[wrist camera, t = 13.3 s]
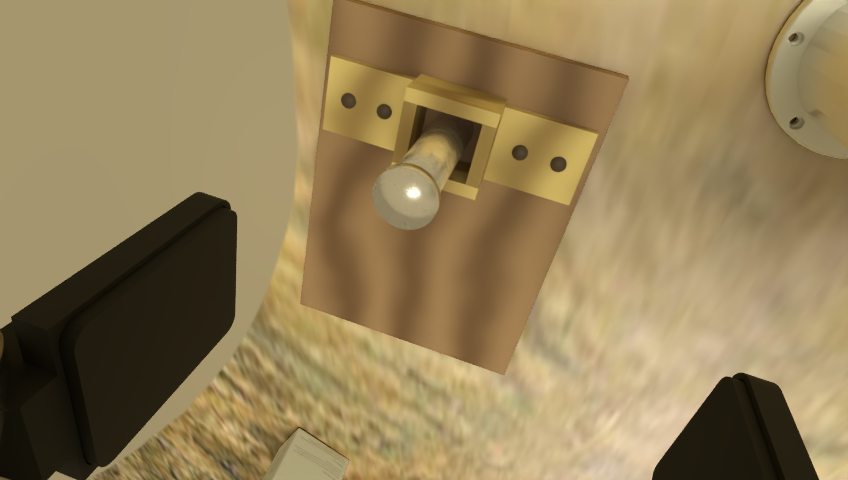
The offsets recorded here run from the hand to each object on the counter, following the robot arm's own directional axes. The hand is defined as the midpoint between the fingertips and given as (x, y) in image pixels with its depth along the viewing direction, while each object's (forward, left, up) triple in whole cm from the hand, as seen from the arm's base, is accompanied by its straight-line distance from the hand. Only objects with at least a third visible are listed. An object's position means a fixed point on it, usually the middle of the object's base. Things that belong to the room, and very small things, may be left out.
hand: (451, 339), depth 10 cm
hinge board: (+5, +16, -33) cm, 37 cm away
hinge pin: (+5, +8, -32) cm, 33 cm away
